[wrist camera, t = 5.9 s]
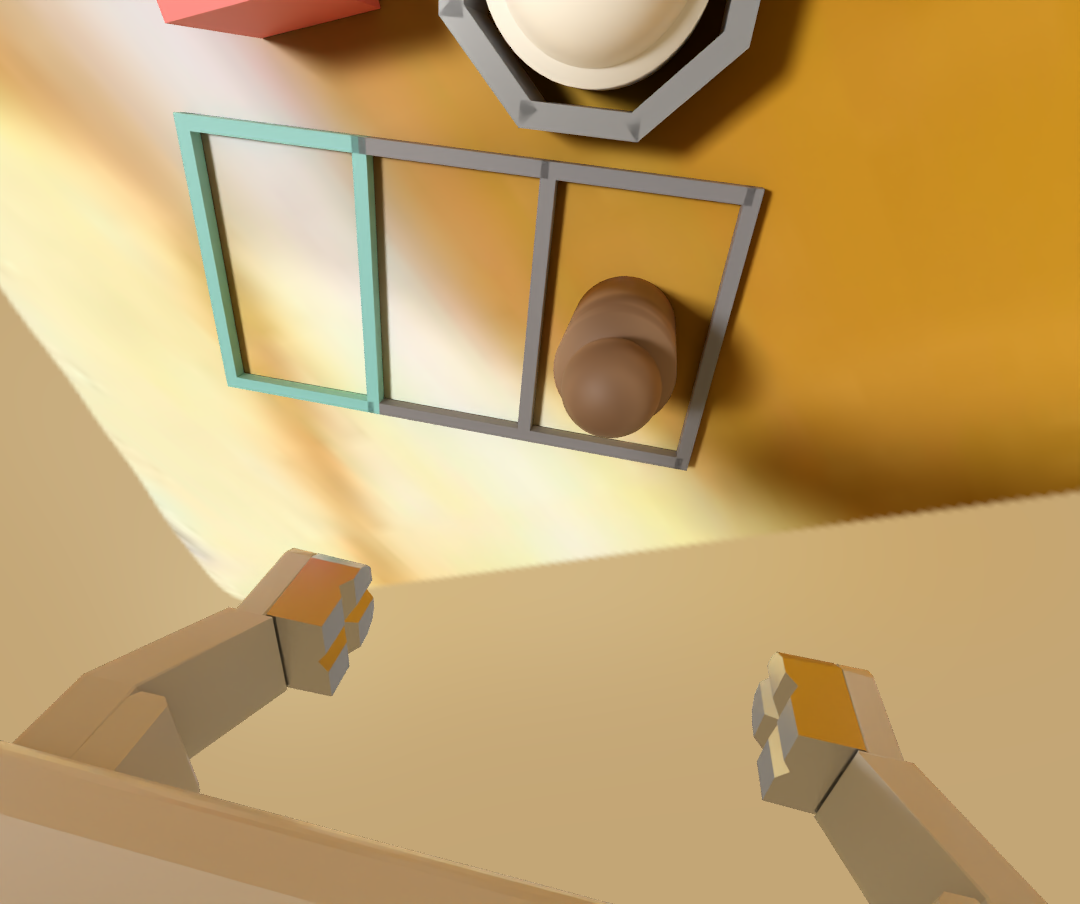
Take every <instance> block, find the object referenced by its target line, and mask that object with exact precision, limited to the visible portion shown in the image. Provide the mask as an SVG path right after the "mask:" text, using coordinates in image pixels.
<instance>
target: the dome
mask: <svg viewBox="0 0 1080 904" xmlns="http://www.w3.org/2000/svg"><path fill="white" fill-rule="evenodd" d="M708 1H709V0H486V2H487V5H488V8H489V10H490V12H491V15H492V17H493V19H494V21H495V23H496V26H497V27H498V29H499V31H500V32H501V34H502V36H503V37H504V39H505V40H506V42H507V43H508V44H509V46H510V47H511V48H512V49H513V51H514V52H515V53H516V54H517V55H518V56H519V57H520V58H521V59H522V60H523V61H524V62H525V63H526V64H527V65H528V66H530V67H531V68H532V69H534V70H535V71H536V72H538V73H539V74H541V75H543V76H545V77H546V78H548V79H550V80H552V81H555V82H557V83H560V84H563V85H566V86H571V87H576V88H581V89H587V90H601V91H604V90H613V89H619V88H623V87H626V86H630V85H632V84H635V83H637V82H639V81H642V80H644V79H645V78H647V77H649V76H650V75H652V74H654V73H655V72H657V71H658V70H659V69H660V68H662V67H663V66H664V65H665V64H667V63H668V62H669V61H670V60H671V59H672V58H673V57H674V56H675V55H676V54H677V53H678V52H679V51H680V49H681V48H682V47H683V46H684V44H685V43H686V42H687V40H688V39H689V38H690V36H691V35H692V33H693V31H694V30H695V28H696V27H697V25H698V23H699V21H700V19H701V17H702V15H703V13H704V11H705V9H706V7H707V4H708Z"/></svg>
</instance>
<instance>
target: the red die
mask: <svg viewBox="0 0 1080 904" xmlns="http://www.w3.org/2000/svg"><path fill="white" fill-rule="evenodd" d="M157 2H158V5H159V8H160V10H161V13H162V16H163V18H164V21H165V23H168V24H174V25H181V26H187V27H193V28H199V29H206V30H212V31H218V32H225V33H231V34H237V35H244V36H250V37H256V38H265V37H269V36H273V35H277V34H281V33H285V32H289V31H293V30H297V29H301V28H305V27H309V26H313V25H317V24H321V23H325V22H329V21H333V20H337V19H341V18H345V17H349V16H353V15H357V14H361V13H365V12H369V11H373V10H377V9H381V8H380V3H379V0H157Z"/></svg>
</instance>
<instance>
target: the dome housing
mask: <svg viewBox="0 0 1080 904" xmlns="http://www.w3.org/2000/svg"><path fill="white" fill-rule="evenodd" d="M759 4H760V0H727V1H726V6H725V11H724V15H723V20H722V25H721V30H720V34H719V37H718V38H716V39H715V40H714V41H713V42H712V43H711V44H710V45H708V46H707V47H706V48H705V49H704V50H703V51H702V52H700V53H699V54H698V55H697V56H696V57H695V58H694V59H692V60H691V61H690V62H689V63H688V64H687V65H686V66H684V67H683V68H682V69H681V70H680V71H679V72H678V73H676V74H675V75H674V76H673V77H672V78H671V79H670V80H669V81H667V82H666V83H665V84H664V85H663V86H662V87H661V88H659V89H658V90H657V91H656V92H655V93H654V94H653V95H651V96H650V97H649V98H648V99H647V100H646V101H645V102H643V103H642V104H641V105H640V106H639V107H638V108H637V109H635V110H634V111H624V110H616V109H607V108H599V107H591V106H582V105H574V104H565V103H557V102H548V101H545V99H544V98H543V96H542V95H541V93H540V92H539V90H538V89H537V88H536V86H535V85H534V83H533V82H532V80H531V79H530V77H529V76H528V74H527V73H526V71H525V70H524V69H523V67H522V66H521V64H520V63H519V61H518V60H517V58H516V57H515V55H514V54H513V53H512V51H511V50H510V48H509V47H508V45H507V44H506V42H505V41H504V39H503V38H502V36H501V35H500V34H499V32H498V31H497V29H496V28H495V26H494V25H493V23H492V22H491V20H490V19H489V17H488V16H487V10H488V5H487V2H486V0H439V14H438V15H439V16H440V18H441V19H442V20H443V22H444V23H445V25H446V26H447V28H448V29H449V30H450V32H451V33H452V35H453V36H454V37H455V39H456V40H457V42H458V43H459V44H460V46H461V47H462V49H463V50H464V51H465V53H466V54H467V56H468V57H469V58H470V60H471V61H472V63H473V64H474V65H475V67H476V68H477V70H478V71H479V73H480V74H481V75H482V77H483V78H484V80H485V81H486V82H487V84H488V85H489V87H490V88H491V89H492V91H493V92H494V94H495V95H496V96H497V98H498V99H499V101H500V102H501V103H502V105H503V106H504V108H505V109H506V111H507V112H508V113H509V115H510V116H511V118H512V119H513V120H514V122H515V123H516V125H517V126H518V128H526V129H534V130H542V131H550V132H558V133H566V134H574V135H582V136H590V137H598V138H606V139H614V140H622V141H630V142H638V141H639V140H641V139H642V138H643V137H644V136H645V135H646V134H648V133H649V132H650V131H651V130H652V129H654V128H655V127H656V126H657V125H658V124H659V123H661V122H662V121H663V120H664V119H665V118H667V117H668V116H669V115H670V114H671V113H672V112H674V111H675V110H676V109H677V108H678V107H680V106H681V105H682V104H683V103H684V102H685V101H687V100H688V99H689V98H690V97H691V96H693V95H694V94H695V93H696V92H697V91H698V90H700V89H701V88H702V87H703V86H704V85H706V84H707V83H708V82H709V81H710V80H711V79H713V78H714V77H715V76H716V75H717V74H719V73H720V72H721V71H722V70H723V69H724V68H726V67H727V66H728V65H729V64H730V63H732V62H733V61H734V60H735V59H736V58H737V57H739V56H740V55H741V54H742V53H743V52H745V51H746V50H747V49H748V48H749V47H750V42H751V38H752V34H753V30H754V26H755V21H756V17H757V13H758V9H759Z"/></svg>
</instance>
